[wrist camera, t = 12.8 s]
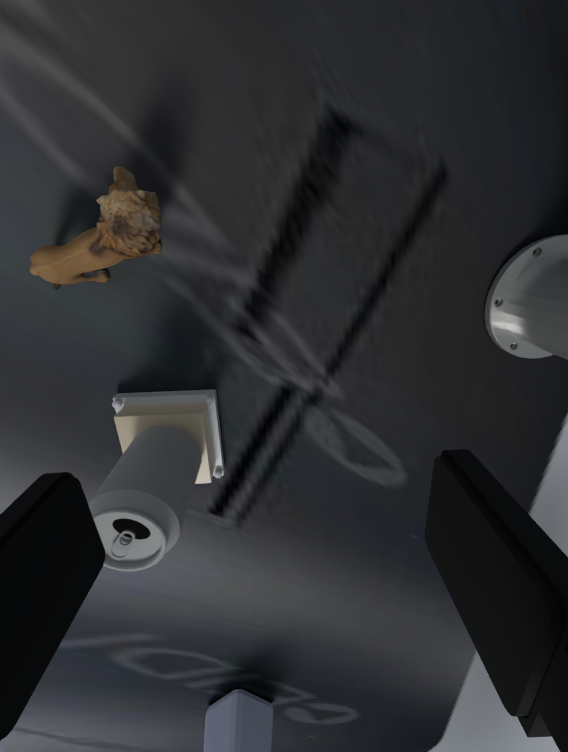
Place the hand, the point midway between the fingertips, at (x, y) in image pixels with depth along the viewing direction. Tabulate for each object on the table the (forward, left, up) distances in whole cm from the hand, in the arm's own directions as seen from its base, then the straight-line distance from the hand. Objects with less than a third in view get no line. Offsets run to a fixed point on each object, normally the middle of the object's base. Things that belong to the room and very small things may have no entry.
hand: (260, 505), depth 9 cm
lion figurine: (+14, -7, -28) cm, 32 cm away
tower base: (+12, +14, -27) cm, 33 cm away
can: (+11, +14, -24) cm, 30 cm away
